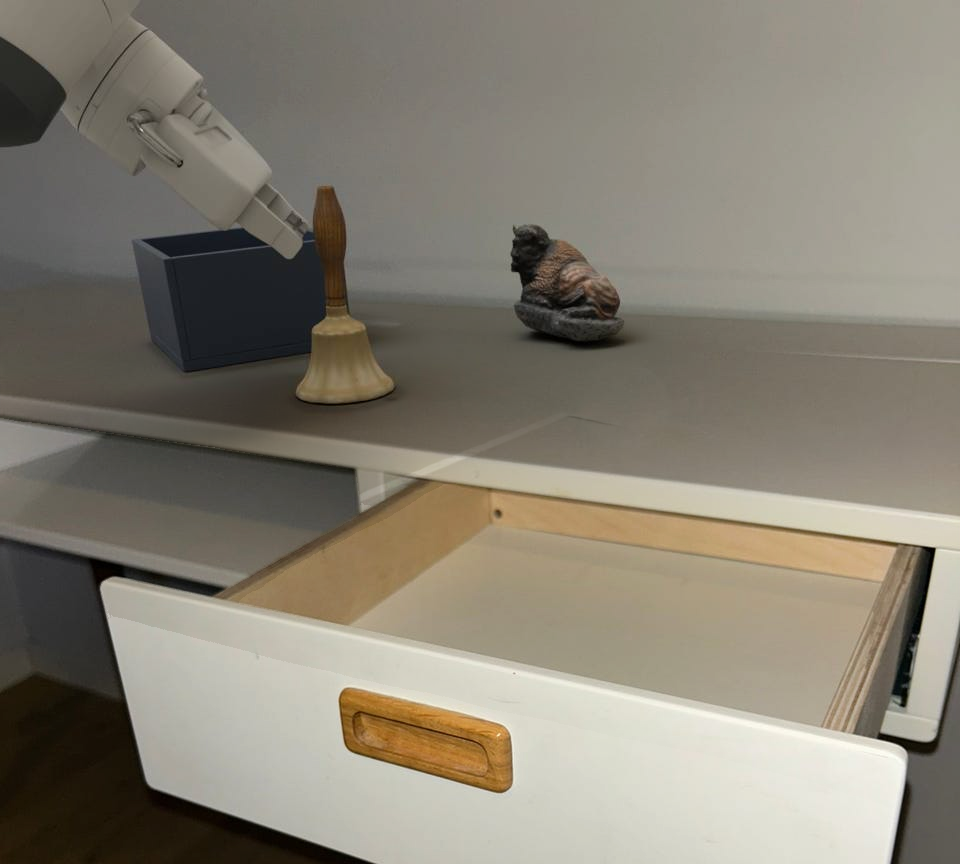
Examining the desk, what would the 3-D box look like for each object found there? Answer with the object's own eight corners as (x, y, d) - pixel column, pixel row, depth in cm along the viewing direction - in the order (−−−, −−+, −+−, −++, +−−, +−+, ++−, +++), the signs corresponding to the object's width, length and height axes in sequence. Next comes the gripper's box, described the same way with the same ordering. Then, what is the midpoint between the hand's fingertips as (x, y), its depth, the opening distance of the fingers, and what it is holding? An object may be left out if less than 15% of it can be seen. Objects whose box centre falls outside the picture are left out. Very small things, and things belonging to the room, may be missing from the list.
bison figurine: (637, 338, 101) (638, 224, 96) (590, 353, 97) (590, 236, 92) (540, 324, 108) (537, 219, 104) (493, 338, 104) (488, 229, 99)
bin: (184, 372, 99) (163, 259, 94) (151, 339, 112) (131, 239, 107) (353, 345, 105) (341, 237, 100) (302, 317, 118) (290, 221, 113)
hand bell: (349, 373, 95) (327, 179, 87) (414, 386, 90) (397, 181, 82) (275, 395, 90) (245, 191, 82) (341, 410, 85) (315, 194, 77)
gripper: (149, 74, 68) (321, 226, 73) (193, 75, 86) (329, 197, 91) (94, 155, 70) (266, 298, 75) (149, 140, 88) (284, 255, 93)
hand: (301, 242), depth 83 cm, fingers open, 8 cm apart
